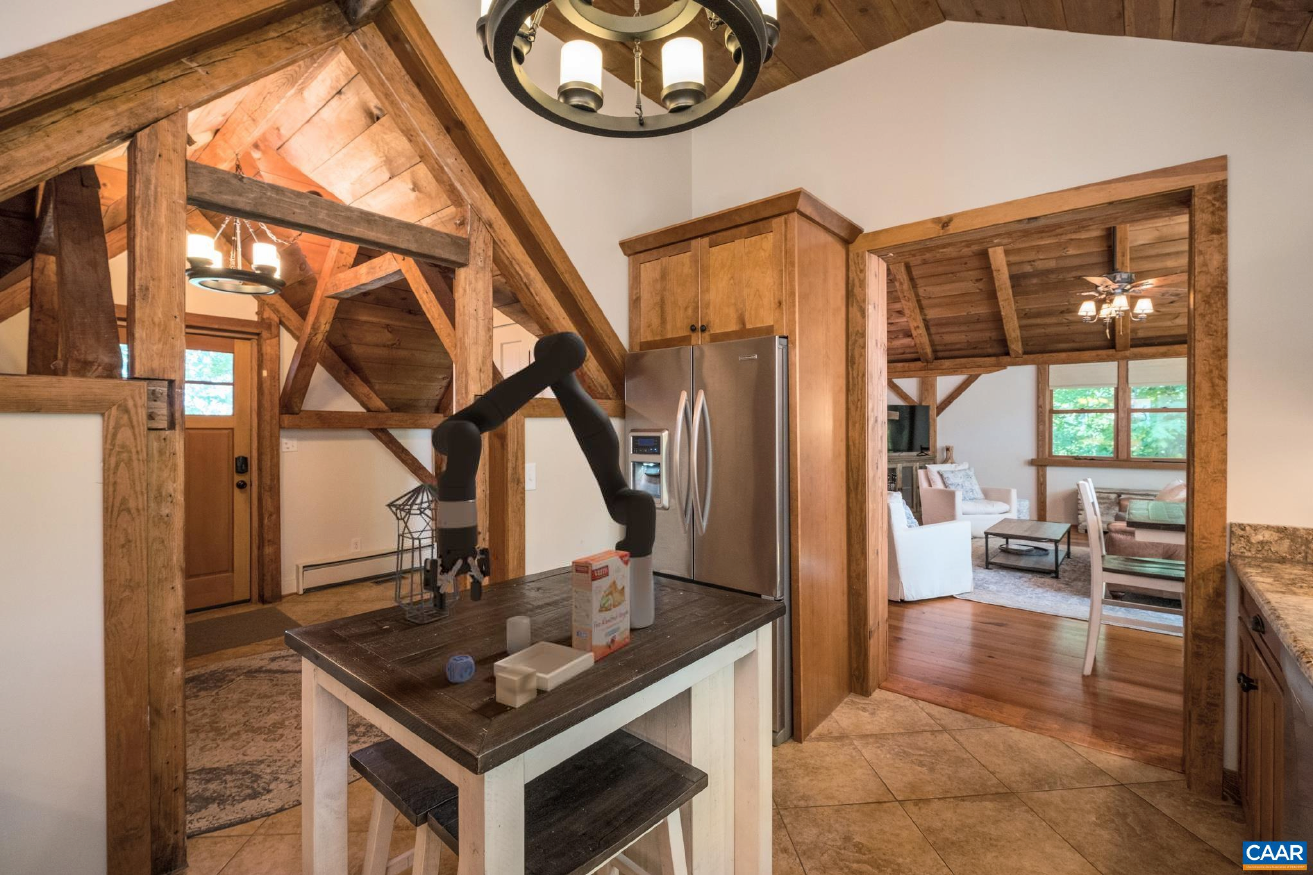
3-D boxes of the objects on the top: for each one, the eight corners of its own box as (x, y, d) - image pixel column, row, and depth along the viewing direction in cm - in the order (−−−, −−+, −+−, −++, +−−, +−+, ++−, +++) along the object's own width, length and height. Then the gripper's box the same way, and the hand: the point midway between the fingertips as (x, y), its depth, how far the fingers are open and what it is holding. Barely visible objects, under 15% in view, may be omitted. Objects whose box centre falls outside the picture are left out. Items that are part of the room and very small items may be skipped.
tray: (542, 652, 127) (542, 640, 127) (594, 664, 120) (593, 652, 120) (493, 675, 115) (493, 663, 115) (548, 691, 108) (547, 678, 108)
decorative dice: (445, 679, 114) (445, 658, 114) (464, 672, 117) (464, 652, 117) (456, 685, 112) (455, 664, 112) (475, 678, 115) (474, 657, 114)
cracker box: (593, 664, 120) (592, 563, 120) (571, 659, 123) (569, 560, 123) (632, 643, 132) (630, 550, 132) (610, 638, 135) (609, 548, 135)
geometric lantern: (384, 618, 152) (381, 484, 152) (441, 604, 164) (438, 479, 163) (413, 631, 142) (411, 487, 141) (471, 615, 154) (469, 482, 153)
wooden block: (516, 690, 109) (516, 664, 109) (536, 697, 106) (536, 669, 106) (496, 701, 104) (495, 673, 104) (516, 708, 102) (516, 679, 102)
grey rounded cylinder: (518, 645, 131) (518, 614, 131) (535, 649, 129) (534, 618, 129) (502, 653, 127) (501, 621, 127) (519, 657, 125) (518, 624, 125)
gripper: (440, 530, 106) (441, 619, 106) (498, 519, 118) (499, 599, 118) (413, 526, 110) (414, 612, 110) (472, 517, 122) (473, 594, 122)
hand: (458, 605), depth 114 cm, fingers open, 8 cm apart
